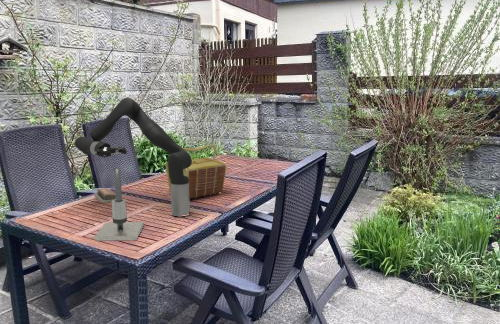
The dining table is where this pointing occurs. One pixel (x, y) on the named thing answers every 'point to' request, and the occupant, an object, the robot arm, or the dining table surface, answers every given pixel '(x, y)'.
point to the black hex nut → (119, 221)
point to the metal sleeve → (119, 209)
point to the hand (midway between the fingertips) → (118, 153)
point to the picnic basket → (203, 175)
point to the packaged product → (105, 195)
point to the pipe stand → (119, 230)
